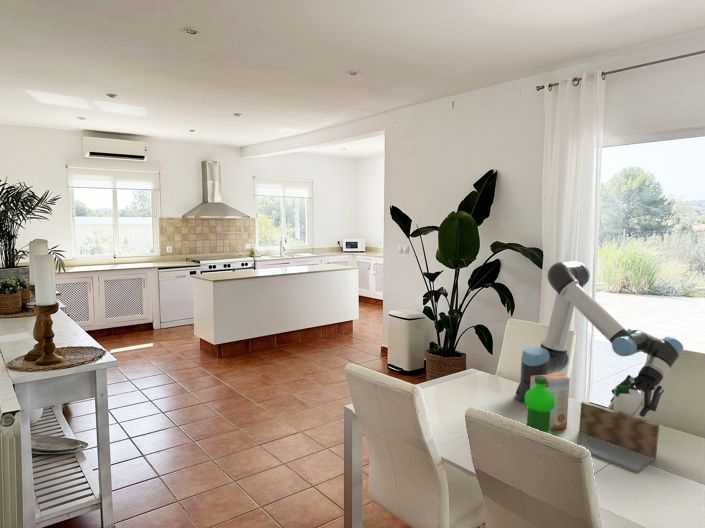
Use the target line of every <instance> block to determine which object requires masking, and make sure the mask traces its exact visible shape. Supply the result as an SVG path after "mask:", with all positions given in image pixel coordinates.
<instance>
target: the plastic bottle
mask: <svg viewBox="0 0 705 528" xmlns="http://www.w3.org/2000/svg"><path fill="white" fill-rule="evenodd" d="M535 383H536V386H535V387H533V388H531V389H530V390H528V391H527V392H526V394H525V403H524V404H525V406H526V407H527V415H526V417H527V418H526V425H527V426H530V427H532V428H535V429H538V430H540V431H543V432H546V433H549V434H551V435H552V430H550V429H549V422H550V411H551V410H553V408H554V405H555V399H554V396H553V394H552V393H551V392H550V391H549V390H548V389H546V388H545V384H547V378H546V377H543V376H535ZM526 425H525V426H526Z"/></svg>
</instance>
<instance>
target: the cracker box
mask: <svg viewBox="0 0 705 528" xmlns="http://www.w3.org/2000/svg"><path fill="white" fill-rule="evenodd" d="M535 376H543V377H546V378H547V384H545V388H546V389H548V390H549V391H550V392H551V393H552V394H553V396H554V399H555V405H554V408H553V410H551V411H550V422H549V429H550V431H552V430H551V429H555V430H562V429H563V430H564V429H567V428H568V427H567V426H568V410H569V392H570V377H568V376H566V375H564V374H562V373H552V374H549V375H535ZM535 376H531V380H530V389H531V388H533V387H535V386H536V383H535Z"/></svg>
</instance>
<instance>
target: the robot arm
mask: <svg viewBox="0 0 705 528" xmlns="http://www.w3.org/2000/svg"><path fill="white" fill-rule="evenodd" d="M590 276H591V274H590V270H589V268H588V267H587V265H585V264H584V263H583V262H580V261H574V260H572V261H560V262H556V263H553V264H552V265H551V266H550V267H549V269H548V271H547V280H548V283H549V285H550V286H551V287H552V288H553V289H554V291H555V292H556V294H555V298H554V302H553V307H552V311H551V315H550V321H549V325H548V329H547V332H546V338H545V339H544V340H541V344H540V347H539V346H534V347H531V346H530V347H526V348H524V349H523V351H522V355H521V360H520V361H521V364H520V367H521V368H520V379H519V380H520V382H519V383H518V386H517V388H516V391H515V399H516V400H517V401H519V402H521V403H523V404H525V394H526V392H527V391H528V390H530V380H531V376H535V375H549V374H556V373H559V372H561V371H563V370H564V369H565V368H567V366H568V364H569V362H570V361H569V360H570V357H569V354H568V346H567V345H566V342H567V338H568V334H569V330H570V326H571V322H572V317H573V313H574V310H575V308H576V310H578V312H580V313H581V315H583V316H584V317H585V319H586V320H588V322H590V323H591V325H592V326H594V327H595V328H596V330H598V331H599V332H600V333H601V335H603V337H605V338H606V340H608V341H609V342H610V344H611V347H612V351H613V352H614V354H616V355H617V356H620V357H630V356H633V355H635V354H638V353H640V352H642V353H644V354H646V355H648V356H649V358H648V359H647V360H646V362H645V363H644V365H643V366H642V367H641V369H640V370H639V372H638V375H636V377H634V376H631V375H630V374H628V375H626V377H625V379H623V380H622V381H621V382H620V383H619V384H618V385H626V386H628V387H629V389H631V390H637V391H638V392H642V393H643V397H644V398H643V405H642V406H640V408H639V409H638V411H637V412H636V413H635V415H634V416H633V417H637V418H640V419H642V418H644V417H646V415H647V413H648V412H650V411H652V412H656V411H657V408H658V405H659V402H660V399H661V396H662V394H663V393H664V392H665V390H664V388H663V387H662V385H660V383H661V382H662V380H663V379H664V377H666V374H668V372H669V371H670V369H671V368H672V366H673V365H674V363H675V362H676V361H677V360H678V359H679V357H680V355H681V354H682V352H683V350H684V346H683V343H681V341H679V339H676V338H674V337H670V336H665V337H663V338H662V339H661V338H657V337H655V336H653V335H652V334H649V333H647V332H644V331H642V330H640V329H638V328H634V327H629V328H628V329H625V328H624V326H623V325H621V324H620V323H619V322H618V320H616V319H615V318H614V317H613V316H612V315H611V314H609V312H608V311H607V310H606V309H605V308H604V307H602V306H601V305H600V303H598V301H596V300H595V298H594V297H592V296H591V295H590V294H589V293H588V292H587V291H586V290H585V289H584V286H586V285H587V284H588V282H590V278H591V277H590ZM614 388H617V386H615V387H614ZM614 388H613V389H611V394H612V395H614ZM652 391H653V394H652ZM651 396H652V398H651ZM606 408H607V409H610V410H613V408H614V396H612V398H611V399H610V404H609V405H608V406H607V407H606Z"/></svg>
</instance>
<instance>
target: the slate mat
mask: <svg viewBox="0 0 705 528" xmlns="http://www.w3.org/2000/svg"><path fill="white" fill-rule="evenodd" d="M579 445H581V446H583V447H585V448H586V449H588V450H589V451H590V453H591V455H592V457H594V458H597V459H599V460H601V461H602V460H603V461H604V462H607V463H609V464H612V465H615V466H617V467H620V468H623V469H625V470H628V471H630V472H633V473H636V474H638V473H640V472H641V471H642V470H643V469H644V468H645V467H647V466H648V465H649V464H650V463H651V462H652V461H653V458H650V457H647V456H644V455H642V454H639V453H636V452H633V451H630V450H628V449H625V448H622V447H619V446H616V445H614V444H611V443H608V442H605V441H602V440H600V439H597V438H594V437H590V438H588V439H587V440H585V441H584V442H582V443H581V444H579ZM591 455H590V456H591Z"/></svg>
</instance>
